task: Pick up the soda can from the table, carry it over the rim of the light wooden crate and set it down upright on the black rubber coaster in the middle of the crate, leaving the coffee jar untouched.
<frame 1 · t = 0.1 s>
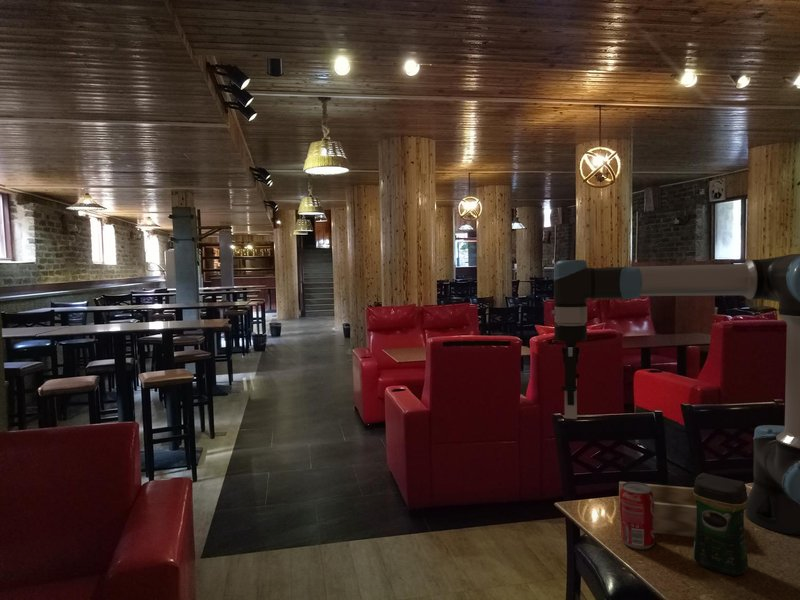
hand: (571, 410, 129), 28 cm above the table, tool pointing down, fingers open, 13 cm apart
soda can: (637, 543, 121), on the table
coffee jar: (719, 565, 111), on the table
crate: (670, 523, 129), on the table
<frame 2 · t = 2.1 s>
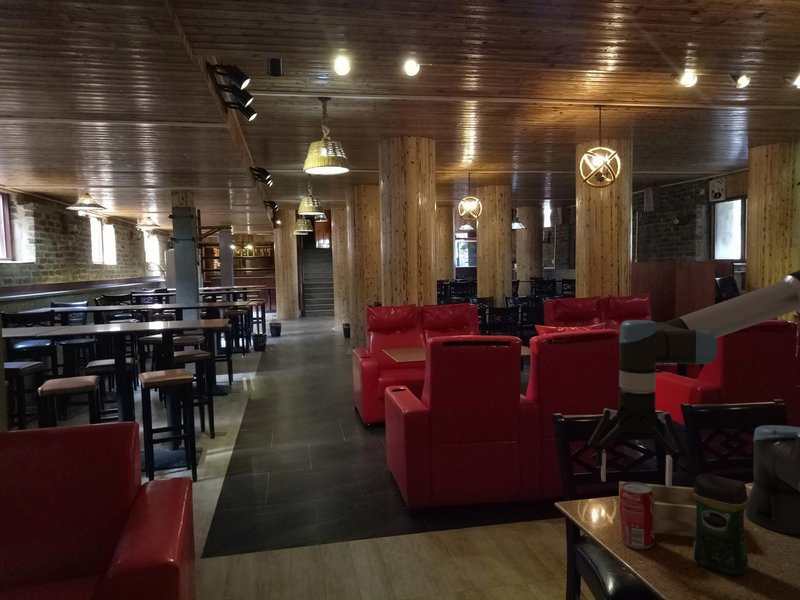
hand: (635, 482, 120), 14 cm above the table, tool pointing down, fingers open, 13 cm apart
nothing on the table moved.
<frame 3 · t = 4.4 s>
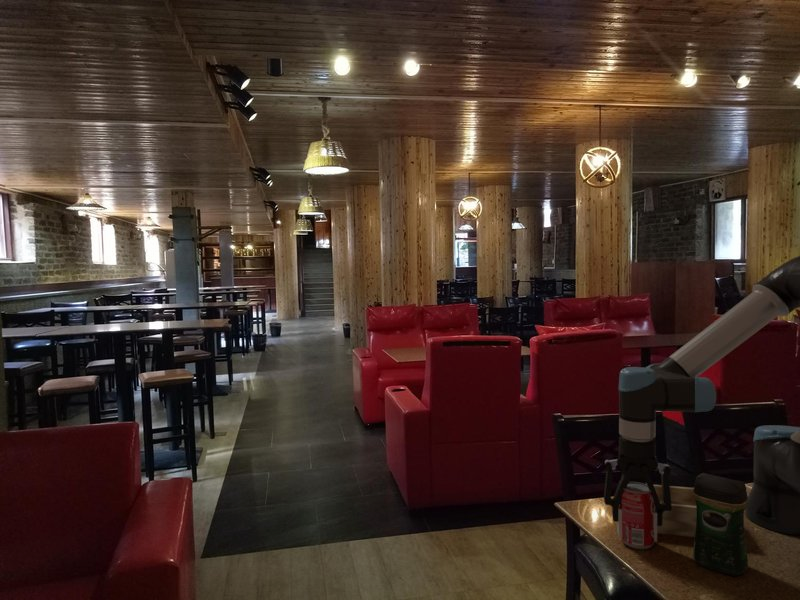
hand: (636, 536, 121), 1 cm above the table, tool pointing down, fingers closed on soda can, 6 cm apart
soda can: (636, 543, 121), on the table, touching gripper
everything else where it was.
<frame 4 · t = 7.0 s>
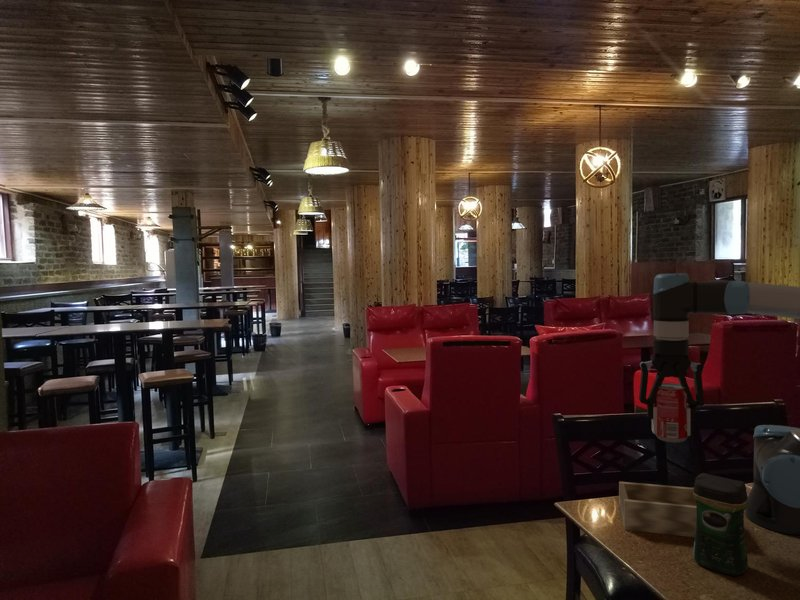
hand: (670, 432, 128), 22 cm above the table, tool pointing down, fingers closed on soda can, 6 cm apart
soda can: (670, 439, 128), point 21 cm above the table, touching gripper
everything else where it was.
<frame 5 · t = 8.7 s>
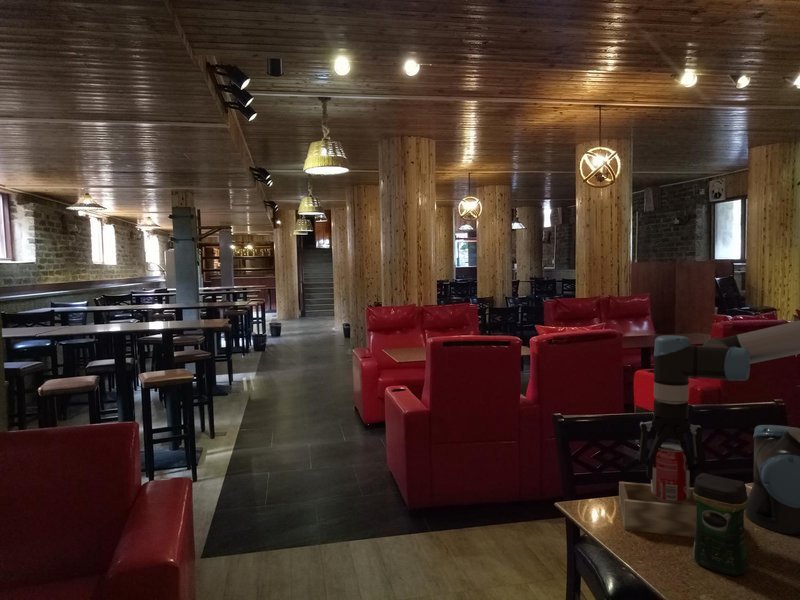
hand: (669, 493, 129), 7 cm above the table, tool pointing down, fingers closed on soda can, 6 cm apart
soda can: (669, 500, 129), point 6 cm above the table, touching gripper
everything else where it was.
when the fingers open (4 cm above the table, at t = 9.9 s): soda can drops 1 cm, resting on crate.
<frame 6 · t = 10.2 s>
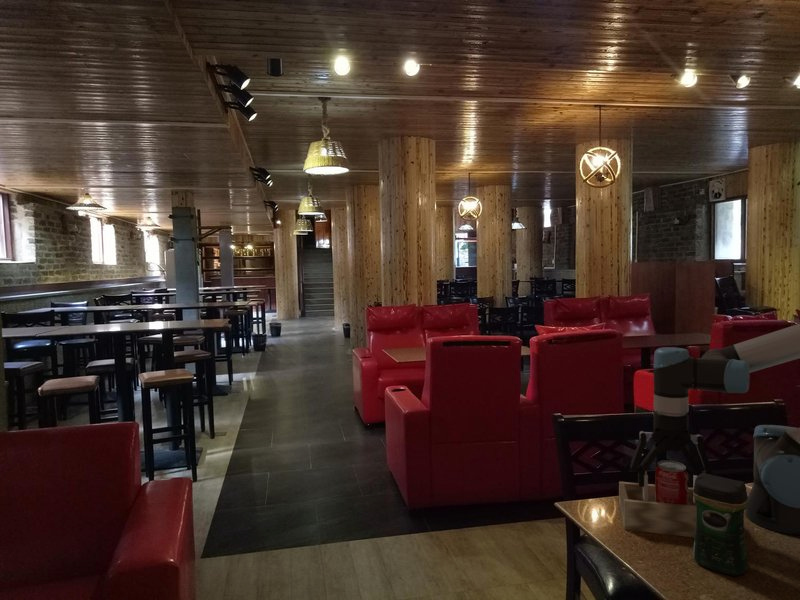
hand: (670, 501, 129), 5 cm above the table, tool pointing down, fingers open, 10 cm apart
soda can: (670, 517, 130), point 1 cm above the table, touching crate
everything else where it was.
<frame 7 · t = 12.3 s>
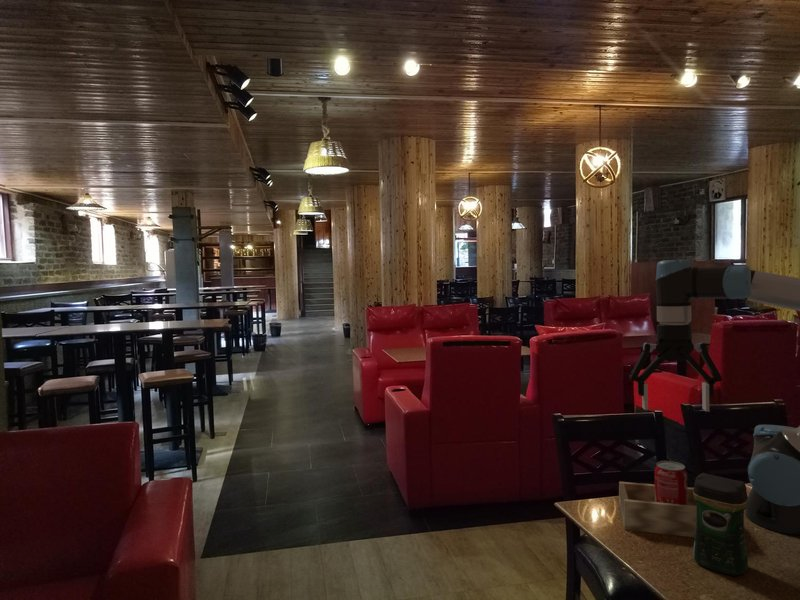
hand: (675, 409, 130), 27 cm above the table, tool pointing down, fingers open, 13 cm apart
nothing on the table moved.
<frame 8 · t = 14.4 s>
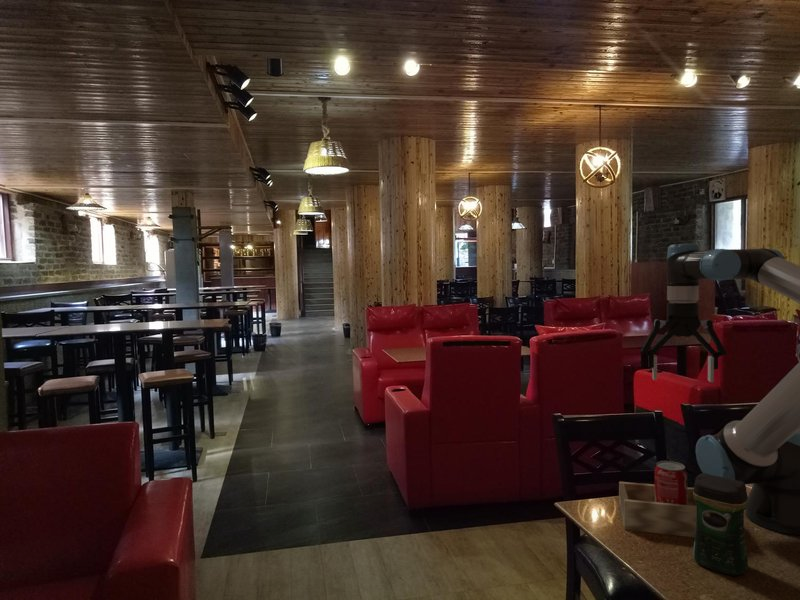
hand: (682, 380, 143), 32 cm above the table, tool pointing down, fingers open, 13 cm apart
nothing on the table moved.
at the end: soda can inside the target area on the crate (0.2 cm from its centre), point 1.2 cm above the crate's base; soda can tilted 0°; the gripper is holding nothing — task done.
